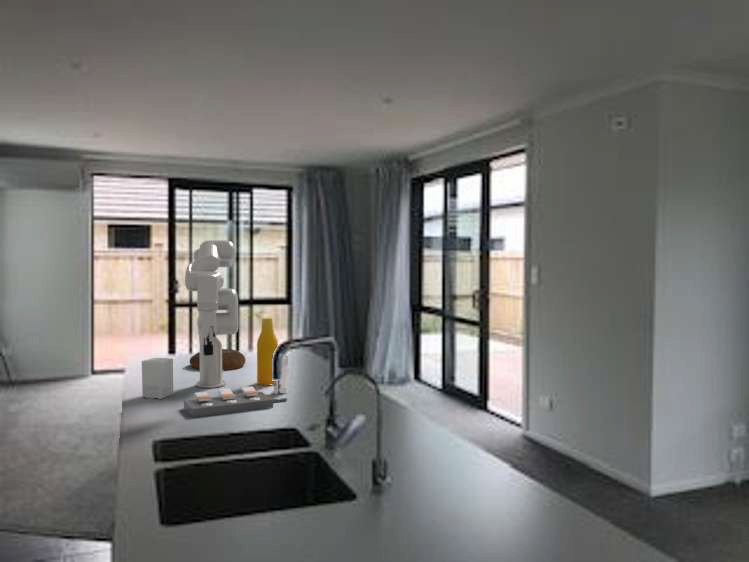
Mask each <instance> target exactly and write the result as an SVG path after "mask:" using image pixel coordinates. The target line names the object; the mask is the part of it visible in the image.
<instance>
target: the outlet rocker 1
mask: <svg viewBox="0 0 749 562" xmlns="http://www.w3.org/2000/svg"><path fill="white" fill-rule="evenodd" d="M218 394H219V395H220V396H221V397H222V399H223V400H227V399H235V395H236V394H235V393H234V392H233V390H231V388H230V387H228V388H219V389H218Z"/></svg>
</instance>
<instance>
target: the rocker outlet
mask: <svg viewBox="0 0 749 562" xmlns="http://www.w3.org/2000/svg"><path fill="white" fill-rule="evenodd" d="M194 397H195V399H197V400H198V401H199V402H200V401H209V400H211V396H210V394H209V393H208V391H200V392H194Z"/></svg>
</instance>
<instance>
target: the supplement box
mask: <svg viewBox="0 0 749 562" xmlns="http://www.w3.org/2000/svg"><path fill="white" fill-rule="evenodd" d="M141 383H142V384H141V388H142V389H141V390H142V391H141V393H142V395H141V396H142V397H141V398H143V397H145V398H144V399H154V398H158V399H157V400H162V399H164V398H167V396H168V397H171V396H173V395H174V360H173V358H166V357H152V358H151V357H150V358H148V359H144V360H142V361H141ZM172 394H173V395H172Z"/></svg>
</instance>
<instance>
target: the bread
mask: <svg viewBox="0 0 749 562" xmlns="http://www.w3.org/2000/svg"><path fill="white" fill-rule="evenodd" d="M189 364H190V366H192V368H194V369H197V370H200V351H198V352H196V353H194V355H192V356H191V357H190V358H189ZM245 364H246V357H245V355H244V354H243V353H241V352H240V351H237V350H236V349H231V348H222V370H224V371H231V370H232V369H233V370H236V369H239V368H242V367H243V366H244V365H245Z"/></svg>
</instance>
